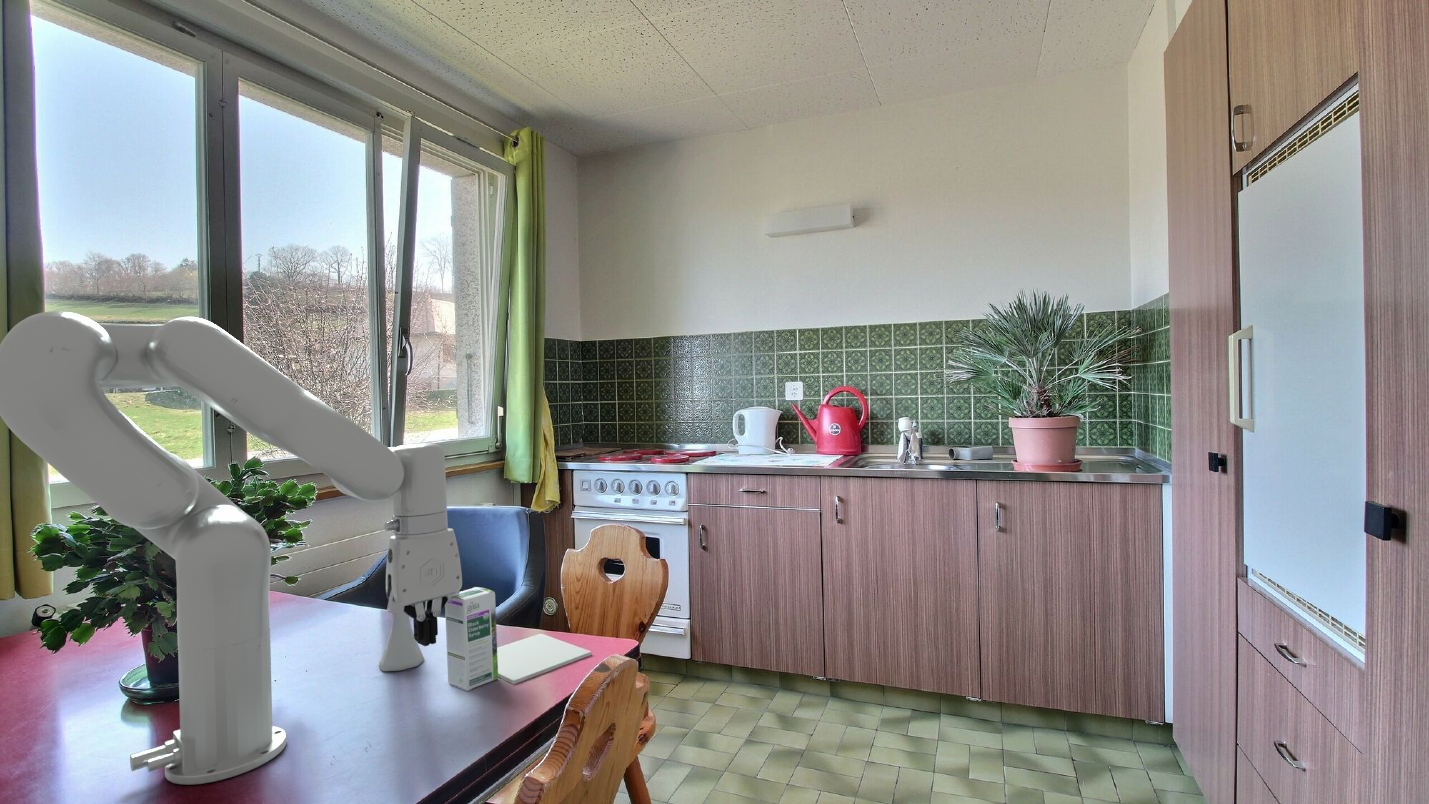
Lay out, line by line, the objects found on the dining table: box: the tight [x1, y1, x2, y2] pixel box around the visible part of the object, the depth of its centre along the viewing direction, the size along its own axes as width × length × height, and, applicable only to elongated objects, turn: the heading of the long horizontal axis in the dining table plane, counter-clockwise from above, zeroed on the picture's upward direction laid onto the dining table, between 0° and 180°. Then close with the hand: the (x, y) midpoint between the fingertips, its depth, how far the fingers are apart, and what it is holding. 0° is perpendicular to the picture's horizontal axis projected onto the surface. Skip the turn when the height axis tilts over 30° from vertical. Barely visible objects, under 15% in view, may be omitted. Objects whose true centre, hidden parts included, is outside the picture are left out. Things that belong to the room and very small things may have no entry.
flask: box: [378, 613, 425, 672], centre depth 115 cm, size 7×7×10 cm
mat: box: [497, 633, 592, 685], centre depth 116 cm, size 16×16×1 cm
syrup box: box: [444, 586, 499, 692], centre depth 107 cm, size 6×6×14 cm
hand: (426, 642), depth 101 cm, fingers closed
